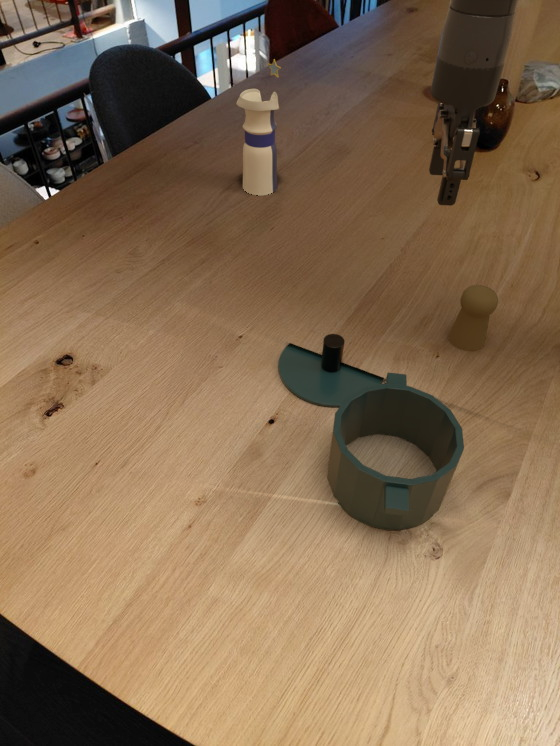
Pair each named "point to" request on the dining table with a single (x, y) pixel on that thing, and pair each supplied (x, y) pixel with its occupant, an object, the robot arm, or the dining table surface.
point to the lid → (322, 373)
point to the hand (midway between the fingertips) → (440, 188)
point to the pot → (409, 422)
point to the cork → (473, 318)
